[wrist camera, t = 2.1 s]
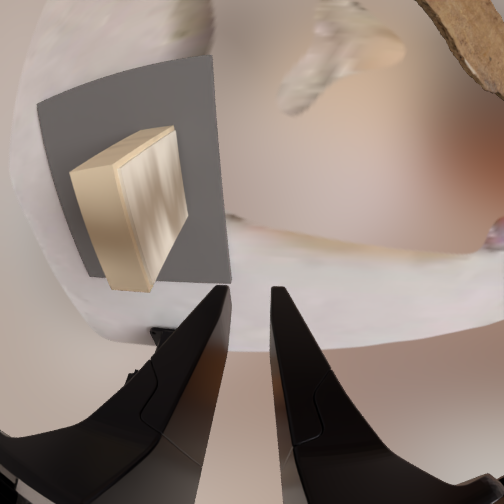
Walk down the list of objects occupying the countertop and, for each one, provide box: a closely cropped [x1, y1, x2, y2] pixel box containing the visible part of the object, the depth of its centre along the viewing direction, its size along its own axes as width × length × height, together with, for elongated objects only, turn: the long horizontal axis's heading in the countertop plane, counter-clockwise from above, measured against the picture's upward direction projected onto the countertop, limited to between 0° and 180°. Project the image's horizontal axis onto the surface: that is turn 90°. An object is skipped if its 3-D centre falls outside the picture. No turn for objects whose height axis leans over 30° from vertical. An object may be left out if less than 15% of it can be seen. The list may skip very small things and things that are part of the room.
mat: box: [37, 55, 232, 284], centre depth 20 cm, size 18×15×1 cm
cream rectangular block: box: [69, 125, 188, 293], centre depth 15 cm, size 7×3×8 cm, turn 2°
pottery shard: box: [415, 0, 504, 101], centre depth 9 cm, size 8×3×15 cm
